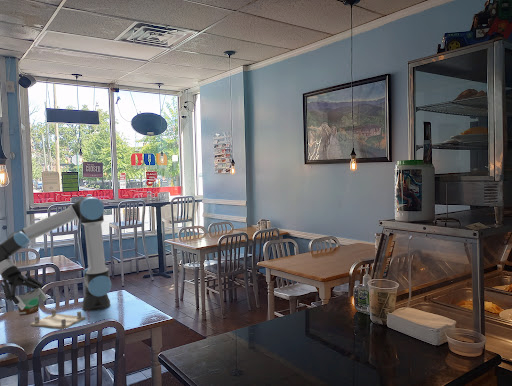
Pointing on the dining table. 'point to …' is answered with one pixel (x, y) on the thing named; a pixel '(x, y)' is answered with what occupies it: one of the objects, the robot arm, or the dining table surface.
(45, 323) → the pin plate
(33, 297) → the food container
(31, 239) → the robot arm
